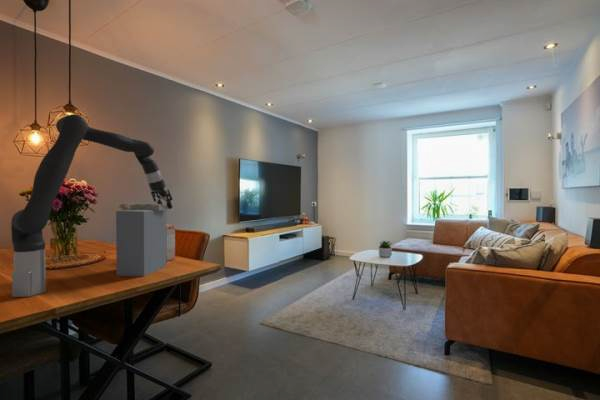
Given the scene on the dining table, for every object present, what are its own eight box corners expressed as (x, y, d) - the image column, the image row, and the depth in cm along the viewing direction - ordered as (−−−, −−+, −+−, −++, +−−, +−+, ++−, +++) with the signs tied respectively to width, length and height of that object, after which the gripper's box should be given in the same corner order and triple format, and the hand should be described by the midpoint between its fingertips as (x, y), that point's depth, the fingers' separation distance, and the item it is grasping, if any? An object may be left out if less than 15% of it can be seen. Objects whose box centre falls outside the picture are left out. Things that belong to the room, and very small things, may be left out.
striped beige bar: (162, 209, 159) (162, 204, 159) (157, 210, 155) (157, 204, 155) (122, 209, 161) (122, 203, 161) (117, 209, 157) (117, 203, 157)
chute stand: (169, 266, 163) (168, 205, 162) (147, 276, 143) (147, 206, 142) (141, 265, 164) (141, 204, 164) (116, 275, 145) (116, 206, 144)
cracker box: (175, 259, 180) (175, 224, 179) (166, 261, 175) (166, 225, 174) (161, 256, 187) (161, 223, 187) (152, 258, 182) (152, 224, 182)
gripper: (141, 183, 160) (152, 210, 165) (156, 182, 152) (167, 211, 157) (154, 178, 166) (164, 205, 171) (169, 177, 158) (179, 205, 163)
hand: (166, 208), depth 164 cm, fingers open, 8 cm apart
